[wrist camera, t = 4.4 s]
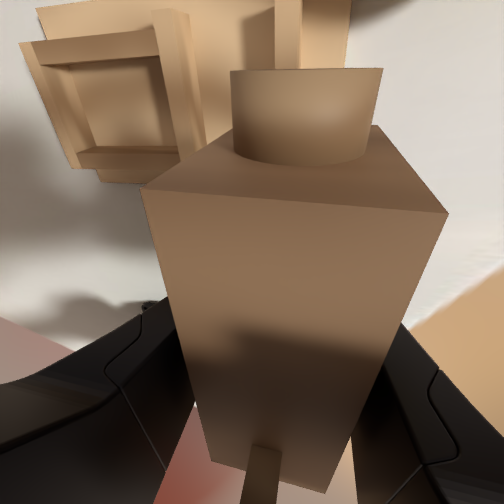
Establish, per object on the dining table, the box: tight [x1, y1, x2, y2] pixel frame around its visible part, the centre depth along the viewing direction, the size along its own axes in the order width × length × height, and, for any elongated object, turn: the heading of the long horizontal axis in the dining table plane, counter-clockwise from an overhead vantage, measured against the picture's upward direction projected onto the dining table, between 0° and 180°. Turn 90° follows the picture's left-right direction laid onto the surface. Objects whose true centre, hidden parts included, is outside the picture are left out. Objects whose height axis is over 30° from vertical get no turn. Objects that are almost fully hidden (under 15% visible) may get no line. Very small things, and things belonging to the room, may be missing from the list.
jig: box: [18, 0, 352, 184], centre depth 16 cm, size 10×17×3 cm, turn 94°
